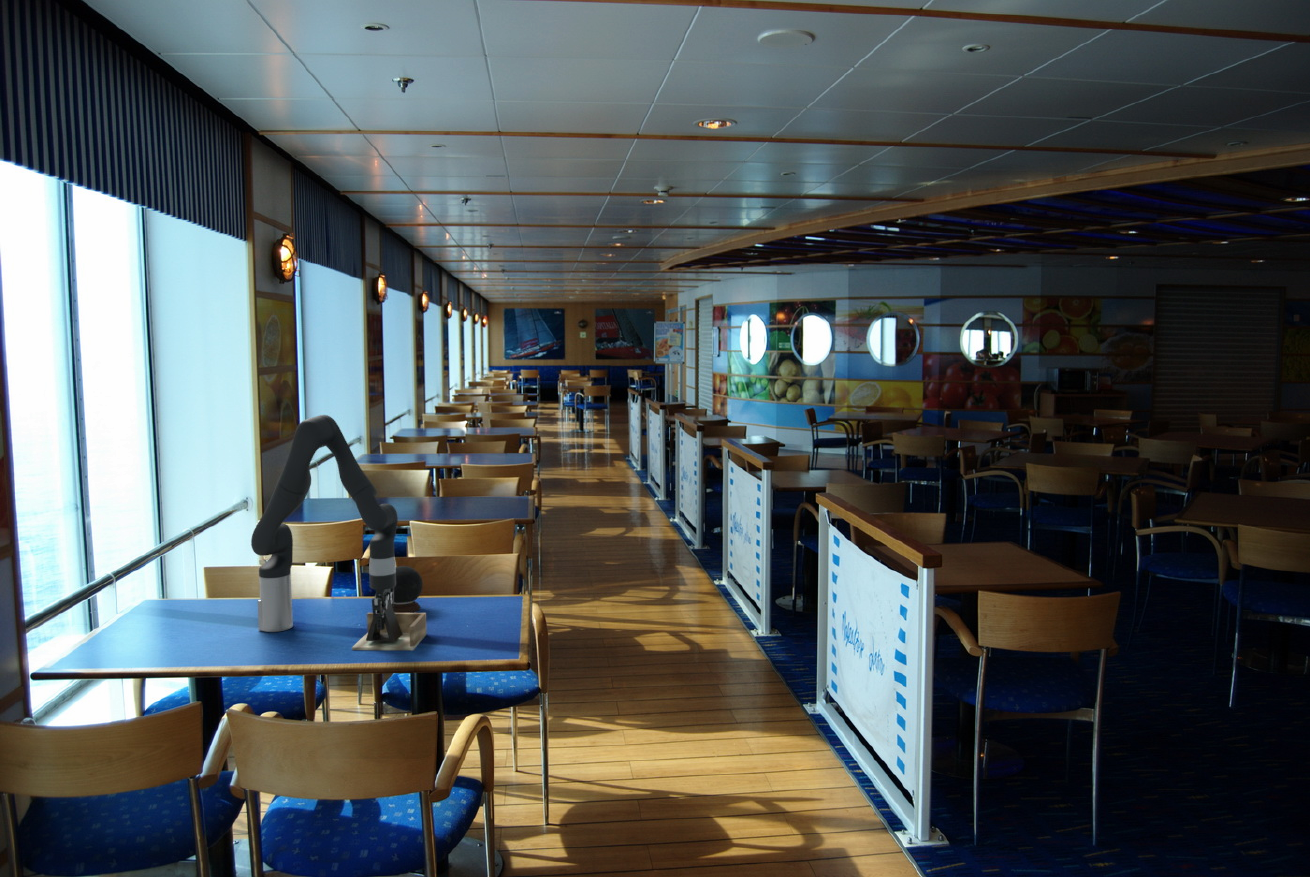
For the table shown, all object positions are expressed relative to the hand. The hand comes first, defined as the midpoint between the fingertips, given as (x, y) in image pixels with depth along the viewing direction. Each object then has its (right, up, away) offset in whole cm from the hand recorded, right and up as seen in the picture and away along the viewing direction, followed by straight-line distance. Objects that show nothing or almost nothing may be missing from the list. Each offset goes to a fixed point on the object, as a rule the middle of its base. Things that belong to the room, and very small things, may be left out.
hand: (384, 626), depth 270 cm
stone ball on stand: (-4, -2, +36) cm, 37 cm away
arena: (+1, -5, +2) cm, 6 cm away
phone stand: (0, -4, 0) cm, 4 cm away
